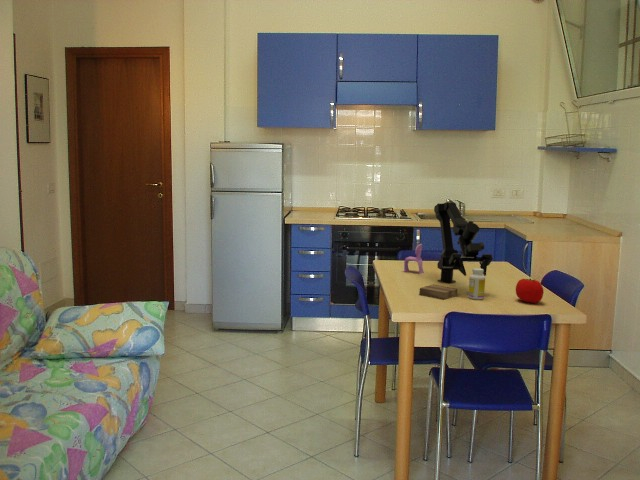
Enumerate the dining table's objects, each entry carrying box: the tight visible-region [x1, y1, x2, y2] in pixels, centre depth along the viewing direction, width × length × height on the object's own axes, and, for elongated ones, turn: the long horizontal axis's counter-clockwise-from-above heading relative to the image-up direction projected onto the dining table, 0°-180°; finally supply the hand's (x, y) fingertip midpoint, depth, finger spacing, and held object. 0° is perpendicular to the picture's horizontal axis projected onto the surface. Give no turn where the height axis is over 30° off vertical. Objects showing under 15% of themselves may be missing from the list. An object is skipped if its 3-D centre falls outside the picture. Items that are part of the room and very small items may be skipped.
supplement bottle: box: [467, 267, 486, 300], centre depth 308 cm, size 7×7×13 cm
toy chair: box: [403, 243, 424, 275], centre depth 360 cm, size 8×9×15 cm
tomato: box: [515, 278, 544, 304], centre depth 306 cm, size 11×13×10 cm
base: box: [418, 284, 459, 301], centre depth 310 cm, size 12×12×3 cm
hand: (475, 275), depth 309 cm, fingers open, 9 cm apart
